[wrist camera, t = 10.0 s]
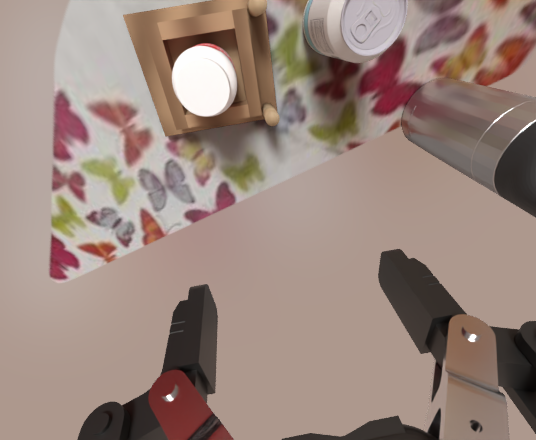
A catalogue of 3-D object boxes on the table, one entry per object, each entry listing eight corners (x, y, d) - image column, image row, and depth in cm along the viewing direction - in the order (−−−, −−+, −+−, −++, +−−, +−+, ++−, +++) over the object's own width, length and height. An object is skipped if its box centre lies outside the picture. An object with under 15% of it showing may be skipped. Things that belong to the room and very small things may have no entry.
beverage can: (370, 16, 33) (431, 10, 23) (328, 67, 35) (367, 82, 26) (331, -36, 30) (383, -68, 20) (288, 24, 32) (315, 22, 23)
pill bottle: (245, 64, 33) (252, 77, 24) (220, 110, 36) (218, 137, 27) (196, 29, 31) (184, 29, 22) (173, 81, 33) (154, 100, 24)
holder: (262, -8, 30) (269, -15, 26) (276, 114, 38) (283, 127, 33) (125, 15, 30) (105, 12, 25) (167, 134, 38) (158, 149, 33)
